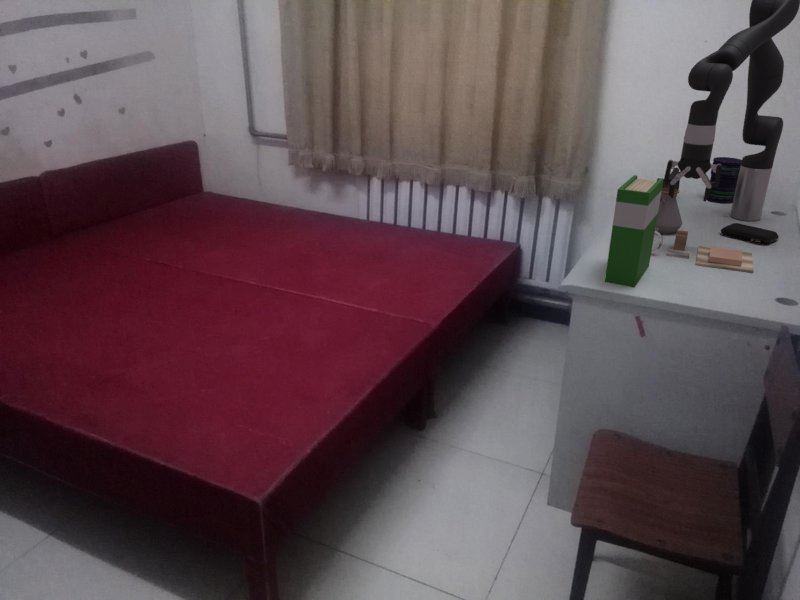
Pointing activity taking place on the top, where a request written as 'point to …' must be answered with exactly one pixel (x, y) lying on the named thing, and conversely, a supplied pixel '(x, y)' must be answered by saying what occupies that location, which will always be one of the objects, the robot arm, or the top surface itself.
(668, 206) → the coffee pot
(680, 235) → the brown rectangular block
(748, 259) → the board
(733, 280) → the top surface
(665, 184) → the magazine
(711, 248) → the tile
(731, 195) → the storage jar
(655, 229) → the ring
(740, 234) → the carrying case or bag
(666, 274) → the top surface
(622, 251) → the hardback book
